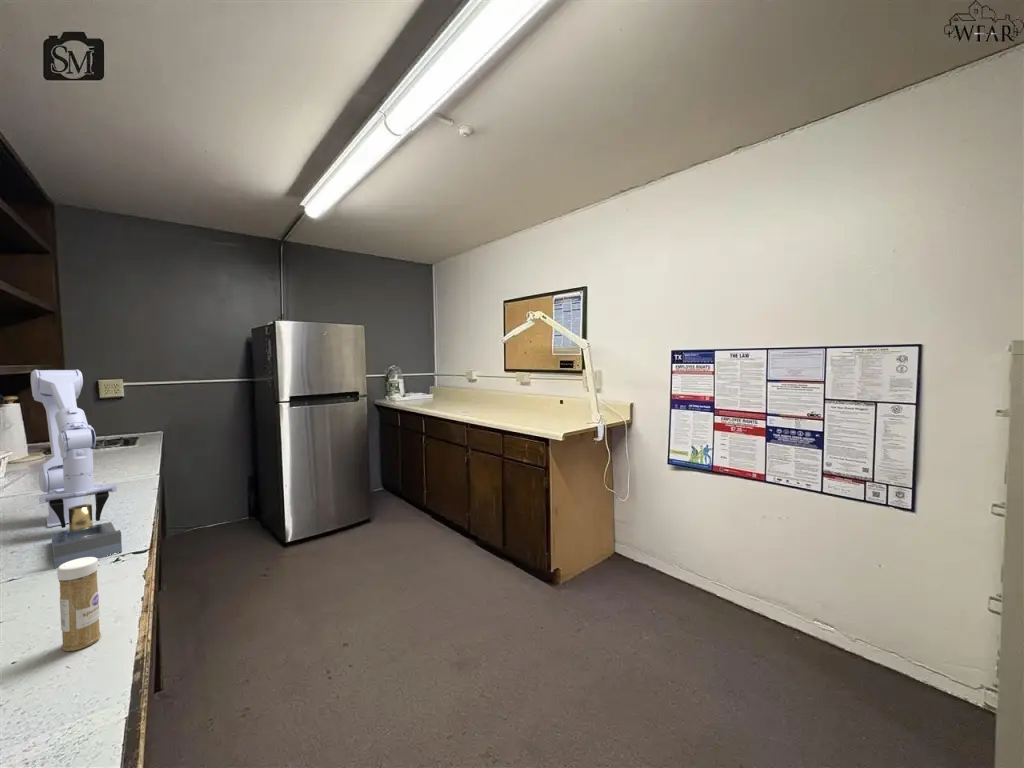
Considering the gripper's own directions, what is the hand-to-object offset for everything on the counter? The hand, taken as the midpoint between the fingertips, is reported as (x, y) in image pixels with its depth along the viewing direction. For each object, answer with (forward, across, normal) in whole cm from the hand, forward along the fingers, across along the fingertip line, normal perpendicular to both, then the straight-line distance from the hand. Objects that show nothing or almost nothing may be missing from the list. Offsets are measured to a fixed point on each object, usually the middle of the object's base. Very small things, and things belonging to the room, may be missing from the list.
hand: (81, 523), depth 114 cm
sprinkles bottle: (+3, -4, -65) cm, 65 cm away
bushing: (+2, 0, 0) cm, 2 cm away
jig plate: (+2, 0, -15) cm, 15 cm away
